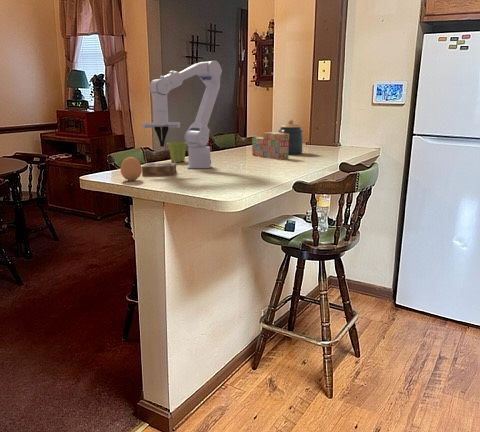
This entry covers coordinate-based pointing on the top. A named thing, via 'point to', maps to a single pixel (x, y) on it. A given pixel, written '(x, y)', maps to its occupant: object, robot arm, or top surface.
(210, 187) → the top surface
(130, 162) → the egg
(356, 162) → the top surface
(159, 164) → the peg
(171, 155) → the plant pot
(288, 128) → the canister
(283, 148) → the stack of blocks
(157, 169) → the socket block
